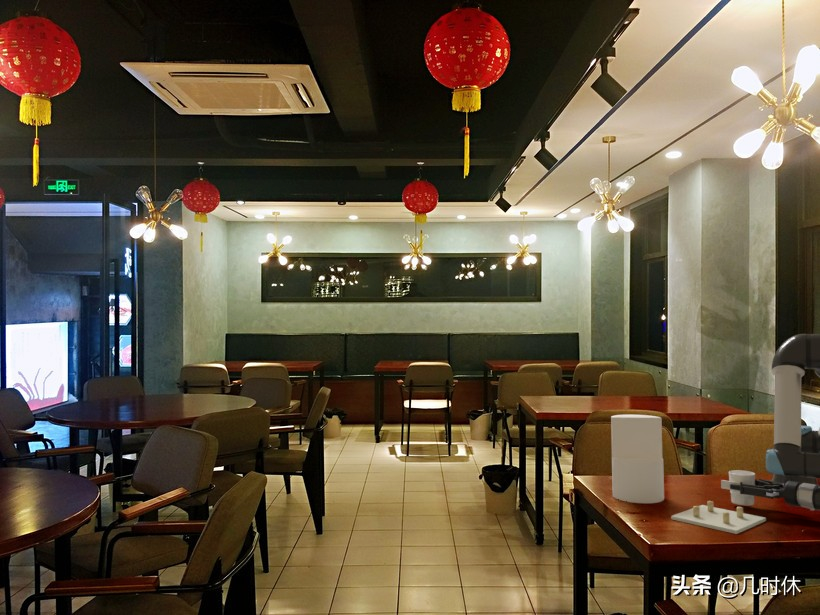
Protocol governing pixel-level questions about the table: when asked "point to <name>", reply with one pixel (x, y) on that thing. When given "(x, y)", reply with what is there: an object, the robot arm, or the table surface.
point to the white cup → (746, 479)
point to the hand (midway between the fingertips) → (727, 482)
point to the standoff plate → (719, 518)
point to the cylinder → (637, 458)
